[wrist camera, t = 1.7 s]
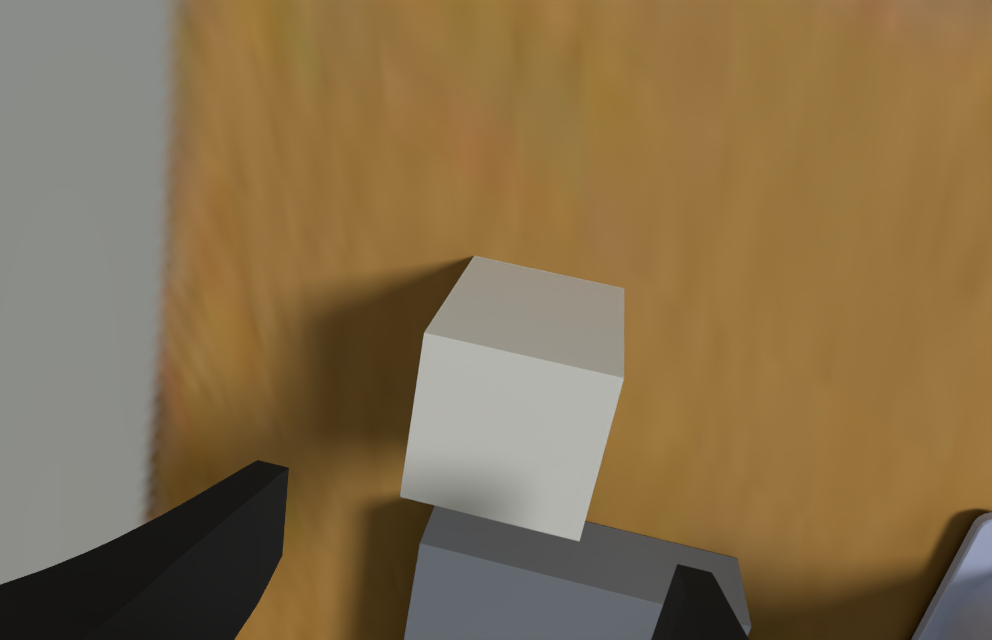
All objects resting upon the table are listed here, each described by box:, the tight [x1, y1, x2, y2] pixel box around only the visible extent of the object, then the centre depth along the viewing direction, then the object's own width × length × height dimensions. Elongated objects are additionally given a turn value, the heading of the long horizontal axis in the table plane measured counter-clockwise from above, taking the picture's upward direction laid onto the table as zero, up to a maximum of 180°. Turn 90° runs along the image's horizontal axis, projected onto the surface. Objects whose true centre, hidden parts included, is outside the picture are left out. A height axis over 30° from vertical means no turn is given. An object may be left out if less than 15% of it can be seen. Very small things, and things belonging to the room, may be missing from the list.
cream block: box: [400, 256, 624, 541], centre depth 20 cm, size 4×4×6 cm
